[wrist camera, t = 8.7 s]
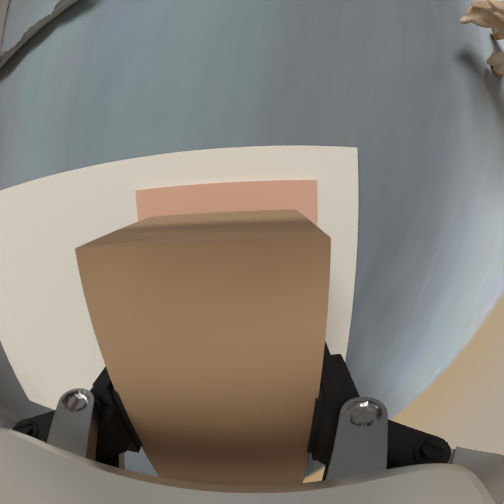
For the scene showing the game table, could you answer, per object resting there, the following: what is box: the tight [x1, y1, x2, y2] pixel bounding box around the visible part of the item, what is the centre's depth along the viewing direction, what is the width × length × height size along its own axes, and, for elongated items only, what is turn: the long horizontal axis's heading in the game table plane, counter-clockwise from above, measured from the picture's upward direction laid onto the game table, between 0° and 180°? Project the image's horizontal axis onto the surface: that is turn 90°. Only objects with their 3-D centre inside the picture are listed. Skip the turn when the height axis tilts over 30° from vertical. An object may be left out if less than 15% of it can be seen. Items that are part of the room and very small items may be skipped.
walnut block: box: [75, 209, 331, 485], centre depth 9 cm, size 11×6×5 cm, turn 2°
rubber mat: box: [0, 146, 358, 410], centre depth 14 cm, size 26×18×1 cm
